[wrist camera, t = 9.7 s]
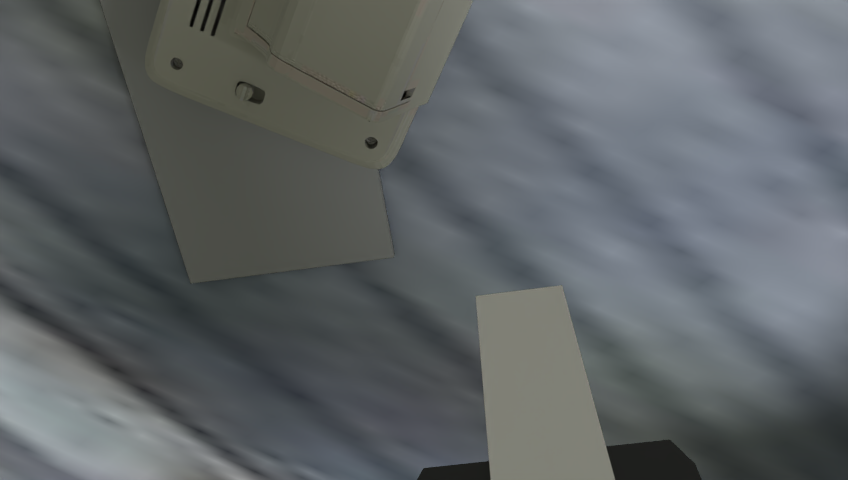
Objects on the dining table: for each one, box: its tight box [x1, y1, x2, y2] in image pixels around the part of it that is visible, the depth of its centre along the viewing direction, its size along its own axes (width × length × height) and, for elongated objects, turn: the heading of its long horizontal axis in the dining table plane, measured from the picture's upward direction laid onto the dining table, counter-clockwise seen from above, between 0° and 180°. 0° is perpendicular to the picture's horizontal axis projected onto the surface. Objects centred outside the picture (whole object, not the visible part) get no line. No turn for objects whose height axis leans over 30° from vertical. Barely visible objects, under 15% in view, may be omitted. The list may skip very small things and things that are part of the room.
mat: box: [100, 0, 395, 283], centre depth 35 cm, size 10×18×1 cm, turn 9°
